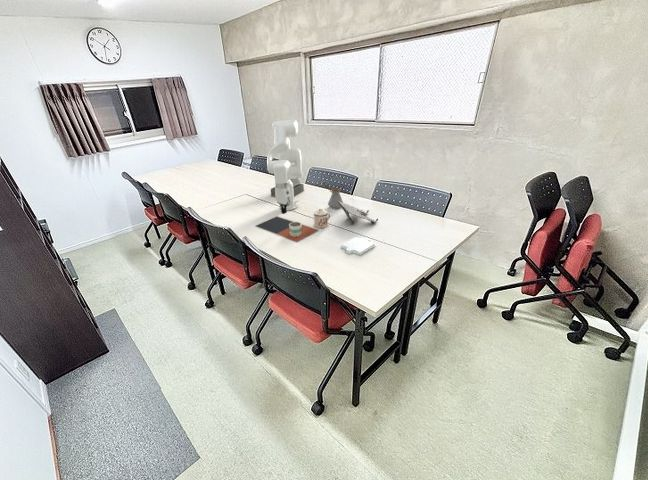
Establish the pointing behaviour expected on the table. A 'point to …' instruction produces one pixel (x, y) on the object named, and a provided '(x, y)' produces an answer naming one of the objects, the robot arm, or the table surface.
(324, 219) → the teacup with lid
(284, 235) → the felt runner
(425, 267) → the table surface
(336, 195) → the coffee pot
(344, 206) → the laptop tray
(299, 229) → the cup
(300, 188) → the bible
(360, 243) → the mounting plate
